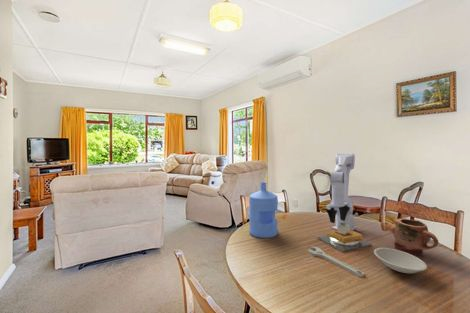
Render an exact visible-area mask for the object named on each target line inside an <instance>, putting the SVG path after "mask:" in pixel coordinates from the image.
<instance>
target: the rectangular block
mask: <svg viewBox="0 0 470 313" xmlns="http://www.w3.org/2000/svg"><path fill="white" fill-rule="evenodd" d="M338 234H340V235H342V236H349V235H350V225H349V224H345V223H340V224H338Z"/></svg>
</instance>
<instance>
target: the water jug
mask: <svg viewBox="0 0 470 313" xmlns="http://www.w3.org/2000/svg"><path fill="white" fill-rule="evenodd" d="M248 200H249V214H248V215H249V216H248V217H249V228H248V229H249V233H250V235H251V236H253V237H255V238H260V239H261V238H262V239H268V238H274V237H275V236H277V235H278V233H279V230H278V228H279V226H278V220H277V219H276V211H277V210H278V205H279V202H278V201H279V199H278V195H277V194H275V193H273V192H271V191H268V190H267V182H263V181H262V182H260V189H259V190H258V191H255V192H253V193H251V194H250V195H249V199H248Z"/></svg>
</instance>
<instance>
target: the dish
mask: <svg viewBox="0 0 470 313" xmlns="http://www.w3.org/2000/svg"><path fill="white" fill-rule="evenodd" d="M373 253H374V255H375V256H376V257H377V258H378V259H379V260H380V262H382V263H383V264H384V265H385V266H386V267H388V268H389V269H392V270H394V271H397V272H399V273H404V274H417V273H419V272H423V271H426V270H427V268H428V266H427V264H426V263H425V261H423V260H422V259H420V258H419V257H418V256H413V255H411V254H408V253H406V252H403V251H399V250H396V249H395V248H389V247H377V248H375V249H374V250H373Z"/></svg>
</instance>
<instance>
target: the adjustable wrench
mask: <svg viewBox="0 0 470 313" xmlns="http://www.w3.org/2000/svg"><path fill="white" fill-rule="evenodd" d="M307 253H308V254H309V255H311V256H312V257H317V258H322V259H325V260H326V261H328V262H330V263H332V264H334V265H336V266H338V267H340V268H341V269H344V270H346V271H348V272H349V273H351V274H353V275H355V276H358V277H360V278H364V277H365V272H363V271H362V270H360V269H357V268H356V267H354V266H352V265H350V264H348V263H345V262H344V261H341V260H339V259H337V258H335V257H333V256H331V255H329V254H327V253H326V252H325V251H323V249H322V248H320V247H318V246H310V249H309V248H307Z"/></svg>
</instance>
